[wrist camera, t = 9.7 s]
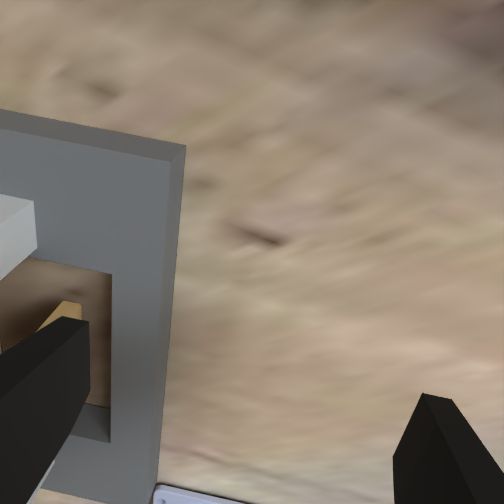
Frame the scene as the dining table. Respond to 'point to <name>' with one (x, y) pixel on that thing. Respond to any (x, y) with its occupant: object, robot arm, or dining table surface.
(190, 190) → the dining table surface
